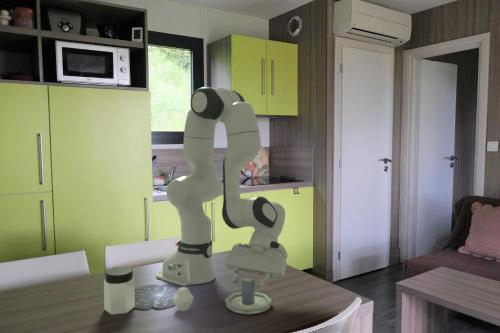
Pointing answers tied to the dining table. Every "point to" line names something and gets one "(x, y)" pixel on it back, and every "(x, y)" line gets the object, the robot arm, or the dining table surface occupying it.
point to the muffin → (183, 299)
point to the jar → (119, 290)
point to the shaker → (248, 290)
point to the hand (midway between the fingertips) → (247, 284)
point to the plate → (259, 305)
